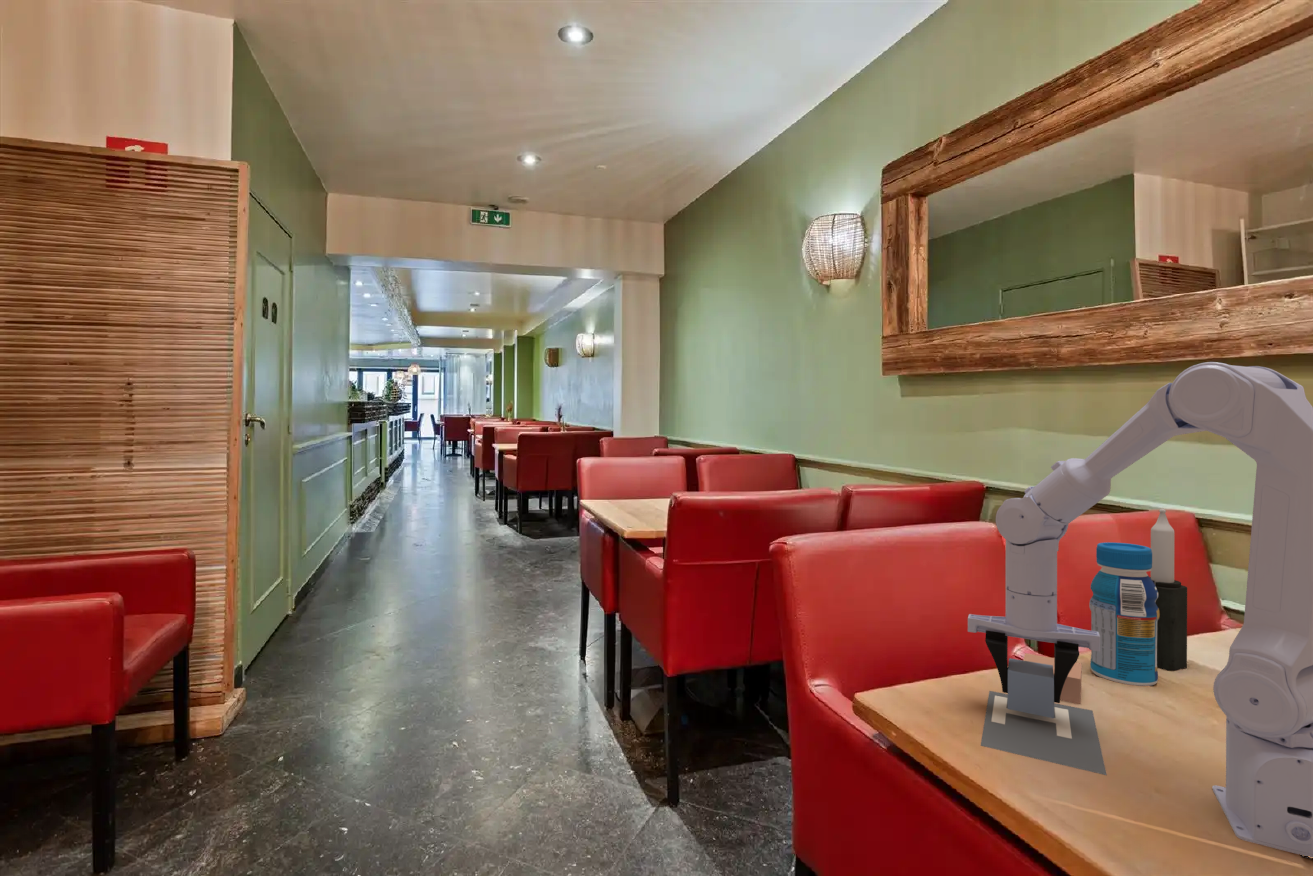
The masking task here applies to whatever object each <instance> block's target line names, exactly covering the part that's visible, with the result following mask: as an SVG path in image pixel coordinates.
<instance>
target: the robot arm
mask: <svg viewBox="0 0 1313 876" xmlns="http://www.w3.org/2000/svg"><path fill="white" fill-rule="evenodd" d="M1304 388H1305V387H1304V386H1303V385H1301V384H1300V383H1298V382H1296V381H1295V380H1292V379H1291V378H1289V377H1287V376H1285V375H1284V374H1282V373H1280V372H1278V371H1276V370H1274V369H1273V368H1269V367H1265V366H1259V365H1249V366H1243V365H1234V364H1233V365H1231V364H1227V363H1223V362H1216V361H1208V362H1201V363H1198V364H1194V365H1191V366H1189V367H1188V368H1186V369H1184V370H1183V371H1182V372H1180V373H1179V374H1178V375H1177V376H1176V378H1175V379H1174V380H1173V381H1172V382H1168V383H1166V384H1165V385H1163V386H1161V387H1159V388H1158V389H1156V391H1154V392H1155V393H1153V395H1152V396H1151V398H1150V399H1149V400H1148V401H1147V402H1146V404H1145V405H1144V406H1142V407H1141V408H1140V410H1138V411H1136V413H1135V414H1133V415H1132V416H1131V417H1130V418H1129V419H1128V420H1127V421H1125V422H1124V423H1123V424H1122V425H1121V426H1120V427H1119V428H1117V430H1115V432H1114V433H1112V434H1111V435H1110V436H1109V437H1108V438H1107V439H1106V440H1105V441H1104V442H1102V443H1101V444H1100V445H1099V446H1098V447H1097V448H1096V449H1094V450H1093V451H1092V452H1091V453H1090V454H1089V455H1087V457H1086V458H1078V457H1077V458H1076V457H1071V458H1068V459H1066V460H1058V461H1057V460H1056V462H1054V463H1053V464H1052V465H1051V467H1050V468H1051V470H1052V471H1051V472H1050V473H1049V474H1048V475H1046V477H1044V478H1043V479H1042V480H1041V481H1039V482H1038V483H1037V484H1035V485H1033V486H1032V485H1031V486H1028V487H1027V488H1026V489H1024V495H1023V497H1012V498H1008V499H1005V500H1003V503H1002V504H1001V505H1000V506H999V507H998V509H997V511H996V514H995V525H996V528H997V531H998V533H999V534H1000V535H1001V537H1002V538H1004V539H1005V616H999V615H997V616H996V615H981V614H972V613H969V614H968V617H967V632H968V633H974V634H975V633H984V634H985V639H984V641H985V644H986V646H987V649H988V650H989V652H990V654H991V656H992V659H993V661H994V663H995V666H996V669H997V671H998V676H999V680H1000V684H1001V691H1002V692H1001V693H1004V694H1008V663H1009V661H1008V652H1009V651H1008V647H1009V646H1008V645H1009V643H1008V642H1009V641H1008V640H1009V638H1010V637H1012V638H1019V639H1024V640H1033V641H1037V642H1045V643H1051V644H1052V643H1053V644H1054V645H1053V647H1054V648H1053V649H1054V650H1053V654H1054V656H1053V658H1054V703H1056V704H1060V703H1061V700H1060V696H1061V692H1062V689H1063V686H1064V683H1065V680H1066V678H1067V676H1068V674H1069V672H1070V670H1071V669H1072V667H1073V666H1074V664H1075V663H1076V662H1077V661H1078V659H1079V657H1080V649H1079V648H1086V649H1089V651H1091V650H1093V651H1100V635H1099V632H1096V631H1091V630H1090V629H1089V630H1088V629H1083V628H1078V627H1074V626H1069V625H1064V624H1061V623H1058V552H1059V549H1060V548H1059V547H1060V546H1059V544H1060V543H1059V542H1060V540H1061V539H1062V538H1063V537H1064V536H1065V535H1066V534H1067V531H1068V528H1069V524H1071V522H1073V521H1075V520H1077V518H1079V517H1080V516H1081V515H1083V514H1084V513H1086V512H1087V511H1088V510H1090V509H1091V508H1092V507H1093V506H1095V505H1096V504H1098V503H1099V502H1100V501H1102V500H1103V499H1104V498H1106V497H1107V496H1109V495H1110V493H1111V488H1112V487H1111V481H1112V478H1114V477H1115V476H1117V475H1119V473H1121V472H1123V471H1124V470H1126V469H1127V468H1128V467H1129V468H1130V466H1131V465H1133V464H1134V463H1135V464H1136V462H1138V461H1139V460H1140V459H1142V458H1144V457H1145V456H1146V455H1148V454H1150V453H1151V452H1152V451H1154V450H1156V449H1157V448H1158V447H1160V446H1162V445H1163V444H1165V443H1166V442H1167V441H1169V440H1170V439H1172V438H1173V437H1176V436H1182V435H1188V434H1194V433H1201V432H1209V433H1212V434H1214V435H1217V436H1219V437H1223V438H1225V439H1226V441H1228V442H1229V443H1231V444H1232V445H1234V446H1235V447H1237V448H1238V449H1239V450H1241V452H1243V453H1245V454H1246V455H1247V456H1249V457H1250V458H1251V459H1253V460H1254V461H1255V462H1256V468H1255V469H1256V471H1255V482H1254V483H1255V484H1254V494H1253V496H1254V497H1253V507H1252V518H1251V519H1252V520H1251V521H1252V522H1251V530H1250V531H1251V532H1250V534H1251V535H1250V541H1249V543H1250V545H1249V553H1248V555H1249V557H1248V567H1247V579H1246V593H1245V607H1244V615H1243V616H1244V617H1243V623H1242V626H1241V628H1240V629H1239V631H1238V633H1237V634H1236V637H1235V638H1234V639H1233V641H1232V643H1231V645H1230V647H1229V651H1228V652H1229V653H1228V659H1227V662H1226V665H1225V667H1223V669H1221V670H1220V671H1219V672H1218V674H1217V675H1216V676H1215V679H1214V681H1213V689H1212V690H1213V696H1214V699H1215V702H1216V703H1217V705H1218V707H1219V708H1220V711H1222V712H1223V714H1224V715H1225V717H1226V718H1225V724H1226V725H1225V787H1224V786H1221V785H1212V787H1211V788H1212V789H1211V790H1212V791H1213V793H1214V796H1215V797H1216V799H1217V801H1218V804H1219V805H1220V808H1221V810H1222V811H1223V813H1224V815H1225V817H1226V819H1227V821H1228V823H1229V826H1231V829H1232V830H1233V833H1234V835H1235V837H1237V838H1238V839H1240V840H1242V841H1245V842H1249V843H1253V844H1257V845H1260V846H1265V847H1267V848H1272V849H1276V850H1280V851H1283V852H1284V851H1285V852H1288V853H1293V854H1295V855H1299V854H1300V855H1302V856H1301V857H1304V856H1310V857H1313V405H1312V404H1311V402H1310V401H1309V400H1308V399H1307V396H1306V393H1305V389H1304ZM1300 855H1299V856H1300ZM1303 855H1304V856H1303Z"/></svg>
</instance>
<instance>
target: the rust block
mask: <svg viewBox="0 0 1313 876" xmlns="http://www.w3.org/2000/svg"><path fill="white" fill-rule="evenodd" d="M1023 661H1029V662H1035V663H1041V664H1047V665H1053V673H1054V657H1050V656H1049V657H1048V656H1043V655H1036V654H1032V653H1026V652H1025V653H1024V656H1023ZM1082 667H1083V666H1082V662H1077V661H1076V663H1075V664H1074V666H1073V667H1072V669H1071V670H1070V672H1069V674H1068V676H1067V678H1066V680H1065V683H1064V686H1063V689H1062V692H1061V696H1060V701H1064V702H1068V703H1073V704H1077V705H1081V702H1082V701H1081V700H1082V699H1081V698H1082V683H1083V681H1082V676H1083V674H1082V672H1083V671H1082Z"/></svg>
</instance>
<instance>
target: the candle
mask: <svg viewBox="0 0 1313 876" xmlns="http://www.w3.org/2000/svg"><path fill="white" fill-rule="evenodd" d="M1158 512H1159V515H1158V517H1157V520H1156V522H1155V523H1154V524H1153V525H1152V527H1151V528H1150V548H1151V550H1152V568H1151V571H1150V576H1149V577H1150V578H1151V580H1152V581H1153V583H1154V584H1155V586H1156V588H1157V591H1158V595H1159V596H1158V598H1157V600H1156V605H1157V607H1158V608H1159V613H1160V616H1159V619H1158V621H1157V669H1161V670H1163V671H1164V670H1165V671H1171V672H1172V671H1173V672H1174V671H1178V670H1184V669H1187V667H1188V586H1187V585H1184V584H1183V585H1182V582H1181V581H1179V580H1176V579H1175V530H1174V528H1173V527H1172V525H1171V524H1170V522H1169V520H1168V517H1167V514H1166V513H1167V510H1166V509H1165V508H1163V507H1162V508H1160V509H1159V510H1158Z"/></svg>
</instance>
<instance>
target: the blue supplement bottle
mask: <svg viewBox="0 0 1313 876" xmlns="http://www.w3.org/2000/svg"><path fill="white" fill-rule="evenodd" d="M1095 549H1096V553H1095V554H1096V555H1095V556H1096V564H1097V566H1098V567H1101V568H1100V569H1099V570H1098V571H1097V573H1096V574H1095V576H1094V577H1093V579H1092V580H1091V583H1090V590H1091V592H1092V596H1091V598H1090V599H1089V605H1088V606H1089V610H1090V611H1091V616H1090V619H1091V621H1090V623H1091V630H1090V631H1096V632H1099V635H1100V651H1093V650H1090V651H1091V653H1090V654H1091V657H1090V667H1089V668H1090V670H1091V672H1092V673H1093V674H1095V675H1096V676H1097V677H1099V678H1101V679H1105V680H1108V681H1112V682H1115V683H1119V684H1124V685H1129V686H1136V687H1137V686H1138V687H1139V686H1141V687H1145V686H1146V687H1151V686H1154V685H1156V684H1157V683H1158V681H1159V672H1158V667H1157V621H1158V619H1159V616H1160V613H1159V608H1158V607H1157V605H1156V600H1157V598H1158V596H1159V595H1158V591H1157V588H1156V586H1155V584H1154V583H1153V581H1152V580H1151V578H1150V577H1151V576H1150V575H1148V572H1151V568H1152V550H1151V547H1149V546H1146V545H1141V544H1135V543H1127V542H1109V541H1107V542H1099V543H1097V544H1096V548H1095Z"/></svg>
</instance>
